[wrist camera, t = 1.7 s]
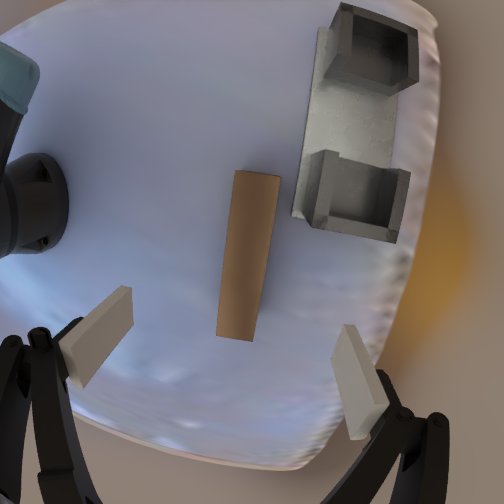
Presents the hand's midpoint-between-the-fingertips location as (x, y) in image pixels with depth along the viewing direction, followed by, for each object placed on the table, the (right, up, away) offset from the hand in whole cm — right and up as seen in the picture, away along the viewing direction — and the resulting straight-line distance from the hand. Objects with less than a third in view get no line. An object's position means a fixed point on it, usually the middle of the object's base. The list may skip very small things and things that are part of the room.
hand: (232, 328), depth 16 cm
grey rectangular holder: (+12, +19, +10) cm, 25 cm away
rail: (+1, +5, +16) cm, 16 cm away
